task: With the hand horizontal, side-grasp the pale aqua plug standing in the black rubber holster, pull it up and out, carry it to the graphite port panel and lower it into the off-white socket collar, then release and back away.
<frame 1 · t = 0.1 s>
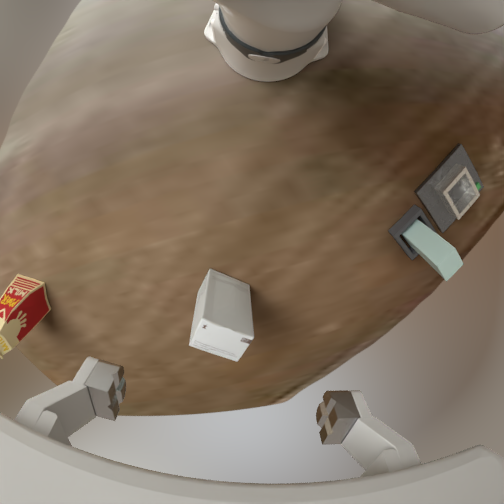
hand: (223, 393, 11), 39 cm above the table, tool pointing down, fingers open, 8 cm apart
plug: (429, 245, 43), in the holster
holster: (410, 230, 49), on the table
port panel: (450, 187, 46), on the table
milk carton: (35, 293, 55), on the table
skincare box: (225, 287, 54), on the table
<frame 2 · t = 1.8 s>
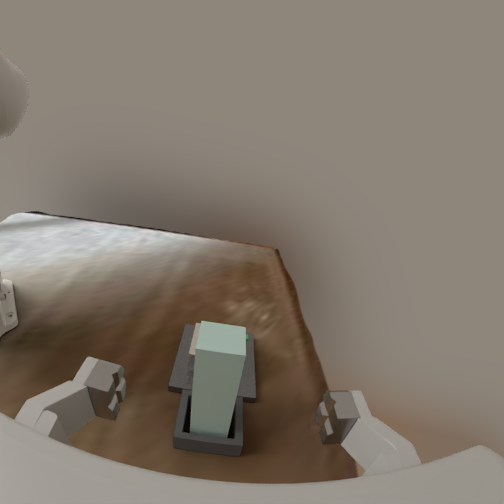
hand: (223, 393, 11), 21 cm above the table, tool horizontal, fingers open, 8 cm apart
plug: (214, 391, 27), in the holster
holster: (208, 428, 29), on the table
port panel: (215, 362, 40), on the table
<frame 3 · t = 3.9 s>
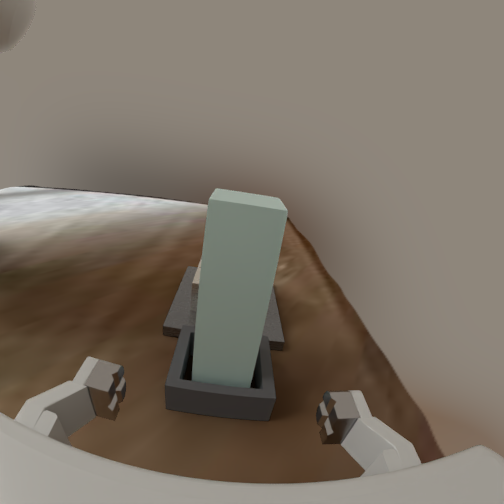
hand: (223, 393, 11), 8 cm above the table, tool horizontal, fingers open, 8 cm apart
plug: (231, 306, 19), in the holster
holster: (219, 382, 21), on the table
port panel: (226, 305, 32), on the table
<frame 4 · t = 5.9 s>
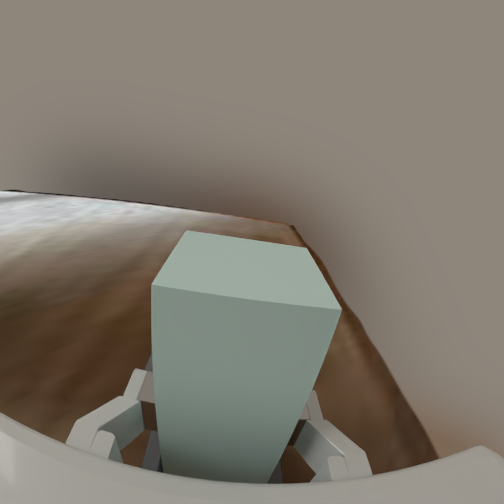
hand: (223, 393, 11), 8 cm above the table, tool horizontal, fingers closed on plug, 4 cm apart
plug: (220, 425, 10), in the holster, touching gripper
holster: (209, 488, 12), on the table
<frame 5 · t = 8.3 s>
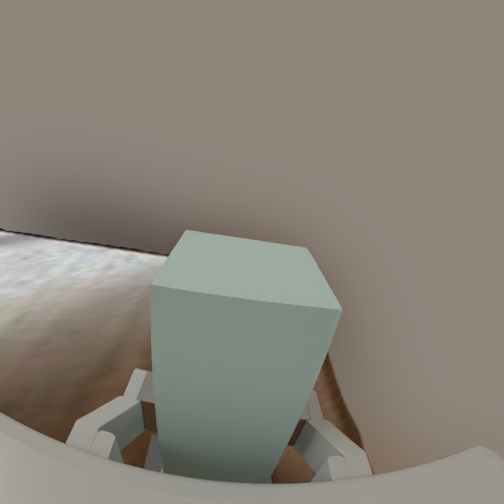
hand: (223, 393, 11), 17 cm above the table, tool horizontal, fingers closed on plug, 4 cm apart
plug: (220, 425, 10), point 16 cm above the table, touching gripper
when the fingers open (10 cm above the table, at t = 10.5 s): plug stays where it is, resting on port panel.
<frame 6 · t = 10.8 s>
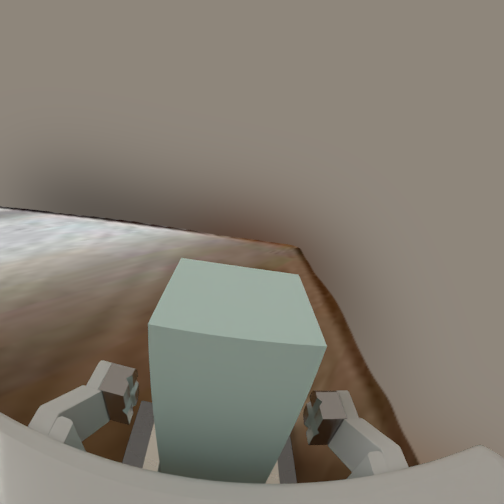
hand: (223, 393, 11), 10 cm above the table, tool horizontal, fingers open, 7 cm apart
plug: (216, 438, 10), in the port panel, point 8 cm above the table
port panel: (207, 499, 13), on the table
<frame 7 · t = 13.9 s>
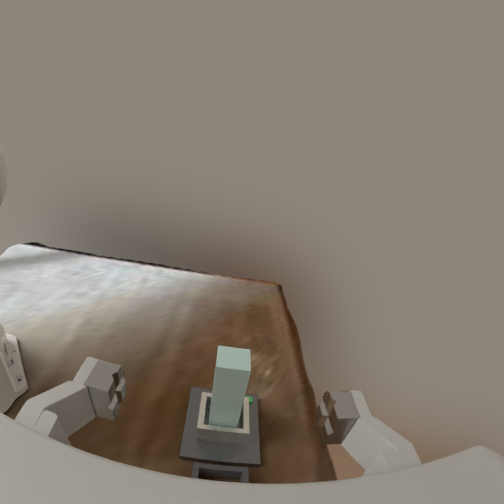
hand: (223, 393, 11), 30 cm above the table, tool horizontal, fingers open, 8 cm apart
plug: (227, 395, 36), in the port panel, point 8 cm above the table
holster: (218, 493, 28), on the table
port panel: (221, 427, 39), on the table
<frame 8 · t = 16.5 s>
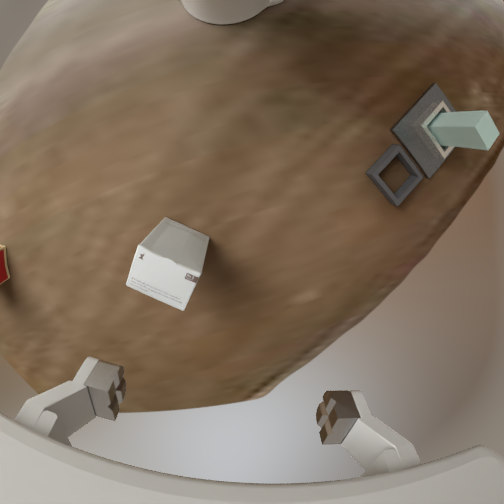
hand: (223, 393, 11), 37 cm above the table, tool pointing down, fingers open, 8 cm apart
plug: (458, 129, 34), in the port panel, point 8 cm above the table
holster: (392, 174, 44), on the table
port panel: (431, 129, 41), on the table
skincare box: (182, 241, 47), on the table
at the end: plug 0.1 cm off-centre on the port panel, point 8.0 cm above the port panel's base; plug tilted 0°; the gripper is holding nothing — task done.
